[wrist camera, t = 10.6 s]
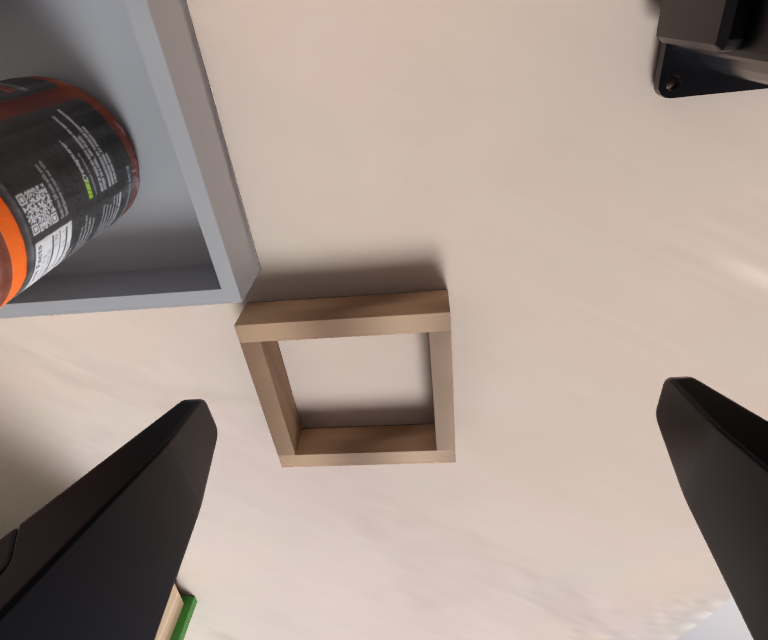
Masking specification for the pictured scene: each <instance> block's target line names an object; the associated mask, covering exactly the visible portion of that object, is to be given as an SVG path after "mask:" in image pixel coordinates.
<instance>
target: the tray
mask: <svg viewBox="0 0 768 640" xmlns="http://www.w3.org/2000/svg"><path fill="white" fill-rule="evenodd" d="M28 76H39V77H49V78H54V79H58V80H62V81H64V82H67V83H69V84H71V85H73V86H75V87H78V88H79V89H81V90H82V91H84V92H86V93H87V94H89V95H90V96H92V97H93V98H95V99H96V100H97V101H99V102H100V103H101V104H102V105H103V106H104V107H105V108H107V109H108V110H109V111H110V112H111V113H112V114H113V115H114V117H115V118H116V119H117V120H118V121H119V123H120V124H121V126H122V127H123V129H124V130H125V132H126V134H127V135H128V137H129V139H130V141H131V143H132V145H133V147H134V150H135V153H136V156H137V160H138V164H139V175H140V183H139V189H138V193H137V196H136V198H135V200H134V202H133V204H132V206H131V207H130V208H129V209H128V211H127V212H126V213H125V214H123V215H122V216H121V217H120V218H119V219H118V220H117V221H116V222H115V223H114V224H112V225H110V226H109V227H108V228H106V229H105V230H104V231H102V232H101V233H100V234H98V235H97V236H96V237H94V238H93V239H92V240H90V241H89V242H88V243H86V244H85V245H84V246H82V247H81V248H80V249H78V250H77V251H75V252H74V253H73V254H71V255H70V256H69V257H68V258H66V259H65V260H64V261H63V262H61V263H60V264H58V265H57V266H56V267H54V268H53V269H52V270H50V271H49V272H48V273H46V274H45V275H44V276H42V277H41V278H40V279H38V280H37V281H36V282H34V283H33V284H32V285H30V286H29V287H28V288H26V289H25V290H24V291H22V292H21V293H20V294H19V295H17V296H16V297H14V298H13V299H11V300H10V301H8V302H7V303H6V304H5V305H4V306H2V307H1V308H0V318H15V317H30V316H45V315H60V314H75V313H90V312H105V311H120V310H135V309H150V308H165V307H181V306H196V305H211V304H226V303H241V302H243V300H244V298H245V297H246V295H247V293H248V291H249V290H250V288H251V286H252V284H253V283H254V281H255V279H256V277H257V276H258V274H259V272H260V270H261V268H260V264H259V261H258V257H257V254H256V250H255V246H254V243H253V239H252V236H251V232H250V229H249V225H248V221H247V218H246V214H245V211H244V207H243V203H242V200H241V196H240V193H239V189H238V186H237V182H236V178H235V175H234V171H233V168H232V164H231V161H230V157H229V153H228V150H227V146H226V143H225V139H224V135H223V132H222V128H221V125H220V121H219V118H218V114H217V110H216V107H215V103H214V100H213V96H212V93H211V89H210V85H209V82H208V78H207V75H206V71H205V67H204V64H203V60H202V57H201V53H200V50H199V46H198V42H197V39H196V35H195V32H194V28H193V25H192V21H191V17H190V14H189V10H188V7H187V3H186V0H0V81H1V80H6V79H11V78H21V77H28Z"/></svg>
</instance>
